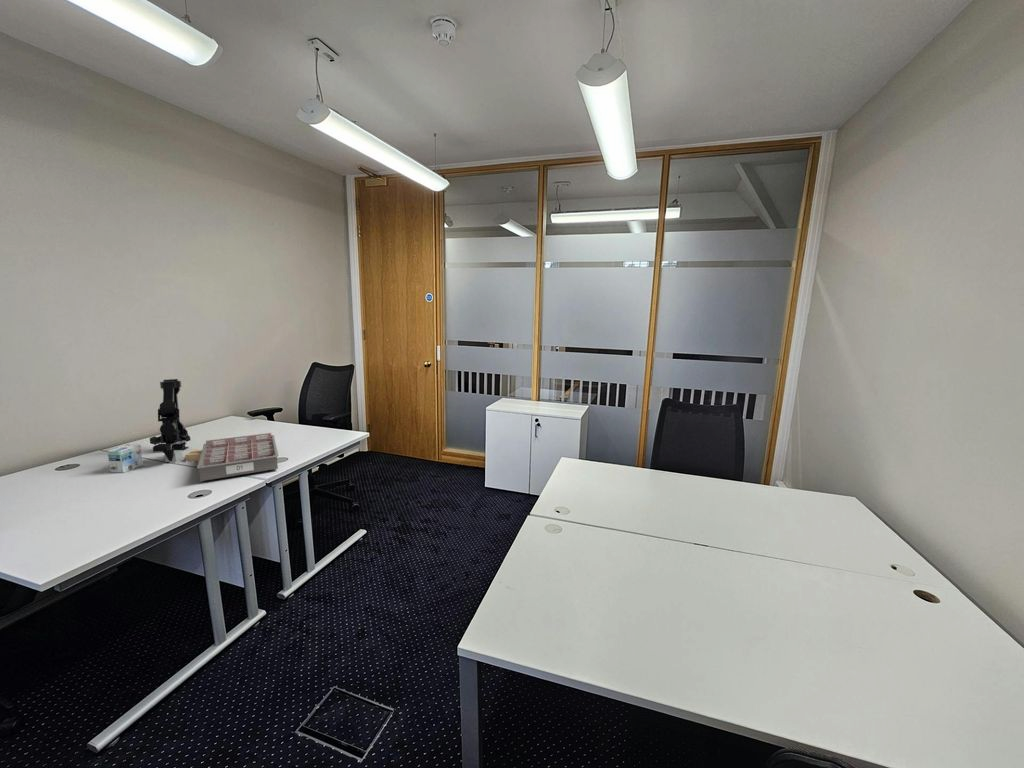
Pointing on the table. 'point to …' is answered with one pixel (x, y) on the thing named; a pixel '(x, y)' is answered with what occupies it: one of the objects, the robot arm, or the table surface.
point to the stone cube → (175, 456)
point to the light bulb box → (125, 458)
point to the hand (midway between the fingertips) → (174, 459)
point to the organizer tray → (237, 456)
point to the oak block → (193, 455)
